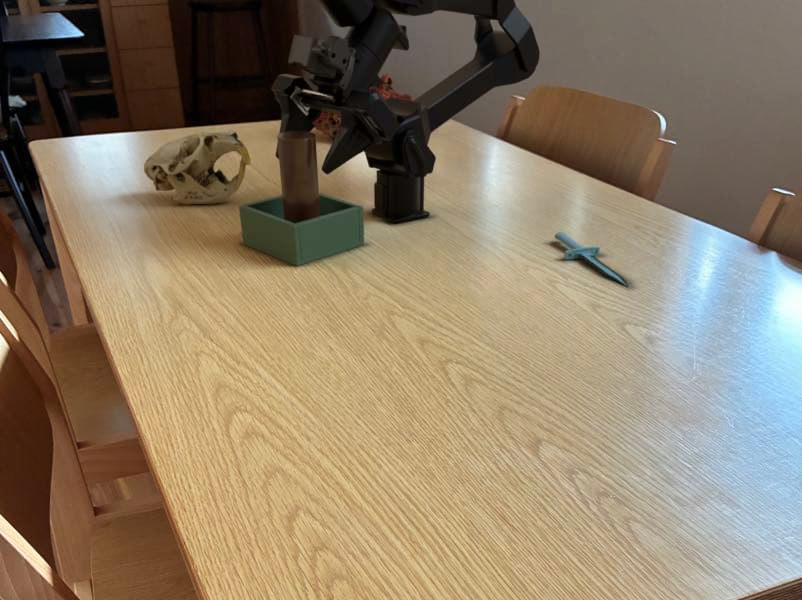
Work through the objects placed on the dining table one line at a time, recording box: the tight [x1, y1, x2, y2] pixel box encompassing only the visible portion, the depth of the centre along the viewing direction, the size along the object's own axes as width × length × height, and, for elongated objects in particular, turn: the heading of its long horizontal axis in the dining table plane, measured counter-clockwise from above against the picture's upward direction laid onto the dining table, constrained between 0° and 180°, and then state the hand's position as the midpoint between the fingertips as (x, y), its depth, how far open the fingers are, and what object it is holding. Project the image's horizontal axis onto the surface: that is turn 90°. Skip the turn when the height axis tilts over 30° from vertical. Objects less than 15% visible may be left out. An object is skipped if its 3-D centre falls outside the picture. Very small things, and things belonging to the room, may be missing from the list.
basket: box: [238, 192, 365, 267], centre depth 107 cm, size 12×12×5 cm
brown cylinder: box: [276, 131, 321, 223], centre depth 104 cm, size 5×5×13 cm
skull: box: [143, 129, 251, 205], centre depth 121 cm, size 10×16×10 cm, turn 78°
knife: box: [554, 231, 629, 288], centre depth 103 cm, size 17×1×5 cm
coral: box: [312, 73, 413, 138], centre depth 155 cm, size 18×13×15 cm
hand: (300, 165), depth 103 cm, fingers open, 9 cm apart
